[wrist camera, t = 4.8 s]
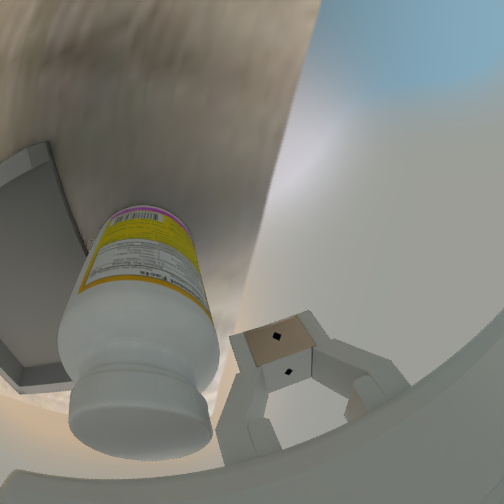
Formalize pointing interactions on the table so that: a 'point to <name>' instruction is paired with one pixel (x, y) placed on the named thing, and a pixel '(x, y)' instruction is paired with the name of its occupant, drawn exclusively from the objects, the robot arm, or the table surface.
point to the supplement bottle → (140, 341)
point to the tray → (35, 270)
